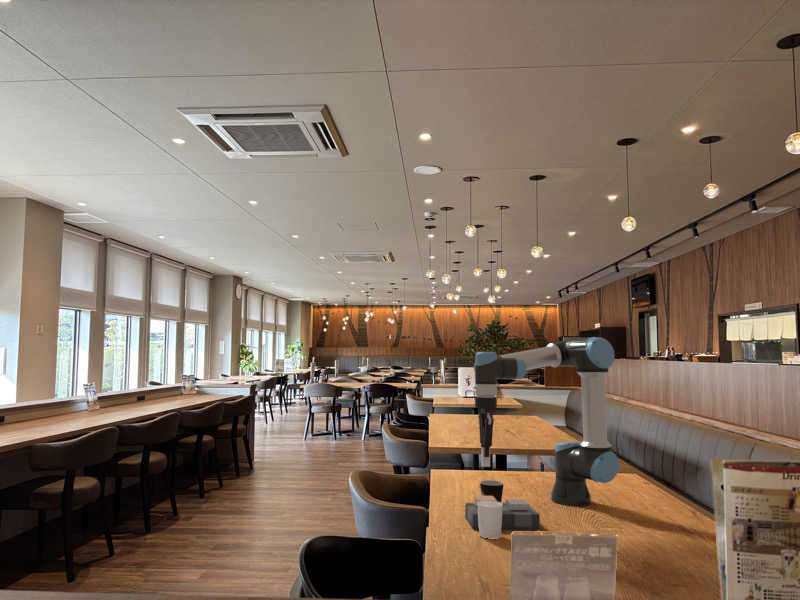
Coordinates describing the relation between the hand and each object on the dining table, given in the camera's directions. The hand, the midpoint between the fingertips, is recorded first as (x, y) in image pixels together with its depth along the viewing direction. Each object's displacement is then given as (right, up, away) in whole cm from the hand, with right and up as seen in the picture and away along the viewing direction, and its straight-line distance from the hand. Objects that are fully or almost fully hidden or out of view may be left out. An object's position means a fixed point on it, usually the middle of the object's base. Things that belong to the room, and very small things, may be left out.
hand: (485, 466), depth 191 cm
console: (+5, -19, -2) cm, 20 cm away
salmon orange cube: (0, -16, -2) cm, 17 cm away
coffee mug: (+5, -21, +16) cm, 27 cm away
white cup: (-1, -18, -16) cm, 24 cm away
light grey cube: (+10, -18, -1) cm, 21 cm away
